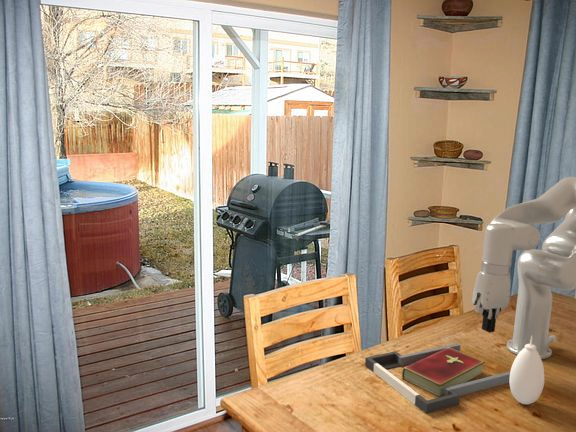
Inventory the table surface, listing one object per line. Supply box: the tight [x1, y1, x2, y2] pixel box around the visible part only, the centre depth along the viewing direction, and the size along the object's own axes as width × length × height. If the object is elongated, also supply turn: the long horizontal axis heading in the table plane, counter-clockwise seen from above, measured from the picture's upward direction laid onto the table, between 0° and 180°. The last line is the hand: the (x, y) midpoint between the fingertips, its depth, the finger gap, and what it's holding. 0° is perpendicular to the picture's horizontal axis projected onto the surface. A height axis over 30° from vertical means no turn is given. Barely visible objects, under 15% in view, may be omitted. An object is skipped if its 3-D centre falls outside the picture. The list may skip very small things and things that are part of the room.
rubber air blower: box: [508, 336, 545, 405], centre depth 132 cm, size 8×8×18 cm
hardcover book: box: [401, 347, 486, 397], centre depth 146 cm, size 12×21×4 cm, turn 130°
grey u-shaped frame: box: [364, 343, 510, 414], centre depth 146 cm, size 31×26×2 cm
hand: (487, 330), depth 151 cm, fingers closed
